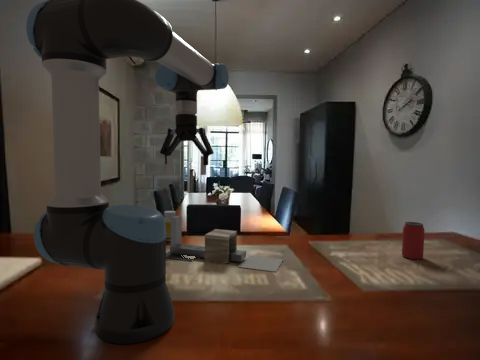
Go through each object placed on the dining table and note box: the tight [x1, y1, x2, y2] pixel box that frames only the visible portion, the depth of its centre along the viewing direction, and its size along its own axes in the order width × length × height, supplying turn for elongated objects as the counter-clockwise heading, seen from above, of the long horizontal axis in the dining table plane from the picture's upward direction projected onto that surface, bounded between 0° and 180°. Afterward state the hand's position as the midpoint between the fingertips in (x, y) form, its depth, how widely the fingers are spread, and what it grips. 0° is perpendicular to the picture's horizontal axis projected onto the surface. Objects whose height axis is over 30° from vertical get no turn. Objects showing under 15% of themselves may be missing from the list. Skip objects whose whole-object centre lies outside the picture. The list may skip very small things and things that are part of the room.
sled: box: [169, 215, 247, 263], centre depth 106 cm, size 5×26×12 cm, turn 72°
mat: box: [237, 255, 284, 273], centre depth 100 cm, size 12×12×1 cm
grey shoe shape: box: [166, 250, 194, 262], centre depth 109 cm, size 12×12×1 cm
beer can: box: [401, 221, 426, 261], centre depth 109 cm, size 7×7×12 cm
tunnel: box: [204, 228, 238, 264], centre depth 104 cm, size 9×8×9 cm
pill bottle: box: [163, 210, 177, 242], centre depth 128 cm, size 6×6×12 cm
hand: (186, 174), depth 112 cm, fingers open, 13 cm apart
